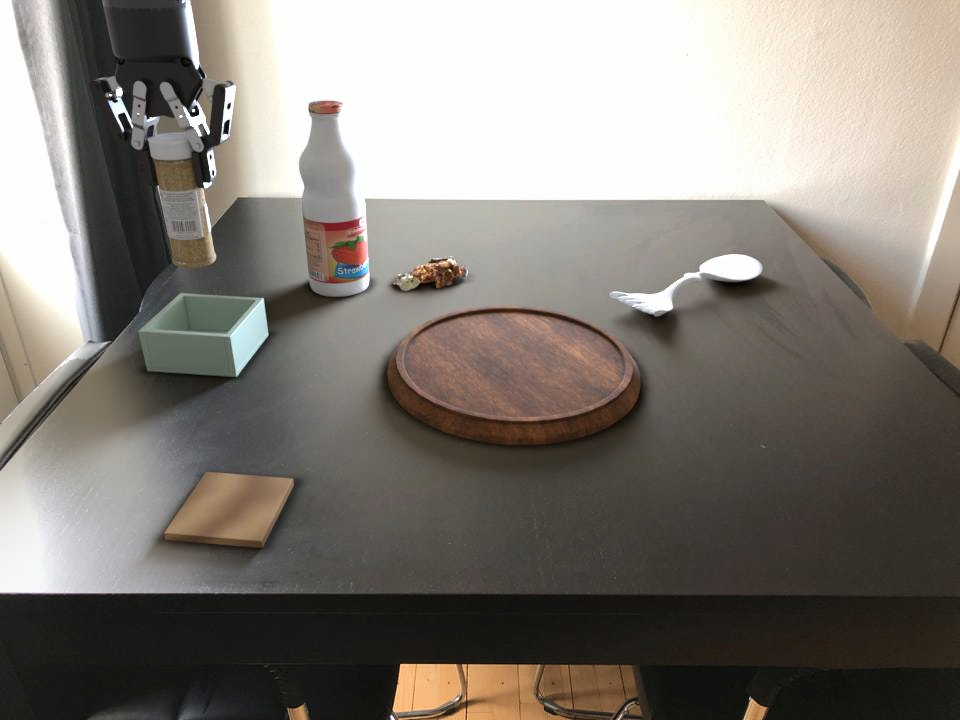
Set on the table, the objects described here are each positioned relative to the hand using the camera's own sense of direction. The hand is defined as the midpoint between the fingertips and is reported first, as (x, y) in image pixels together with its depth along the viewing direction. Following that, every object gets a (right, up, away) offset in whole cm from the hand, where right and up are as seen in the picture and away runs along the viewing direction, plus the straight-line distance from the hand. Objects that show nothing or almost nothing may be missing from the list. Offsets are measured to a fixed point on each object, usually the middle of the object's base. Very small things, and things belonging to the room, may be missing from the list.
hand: (180, 184), depth 76 cm
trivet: (+7, -33, -6) cm, 34 cm away
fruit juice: (+9, -6, +42) cm, 43 cm away
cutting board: (+35, -20, +19) cm, 44 cm away
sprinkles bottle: (0, -8, +4) cm, 9 cm away
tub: (-5, -17, +22) cm, 28 cm away
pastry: (+23, -5, +44) cm, 50 cm away
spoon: (+65, -8, +42) cm, 78 cm away
